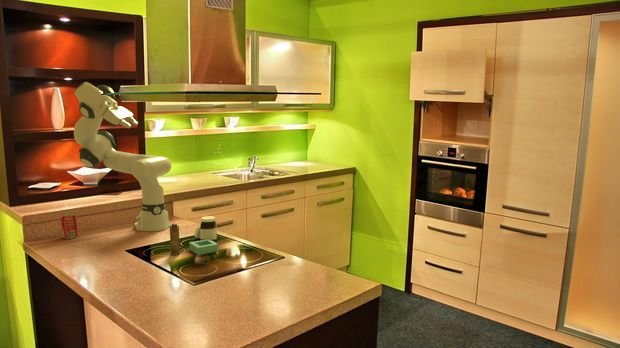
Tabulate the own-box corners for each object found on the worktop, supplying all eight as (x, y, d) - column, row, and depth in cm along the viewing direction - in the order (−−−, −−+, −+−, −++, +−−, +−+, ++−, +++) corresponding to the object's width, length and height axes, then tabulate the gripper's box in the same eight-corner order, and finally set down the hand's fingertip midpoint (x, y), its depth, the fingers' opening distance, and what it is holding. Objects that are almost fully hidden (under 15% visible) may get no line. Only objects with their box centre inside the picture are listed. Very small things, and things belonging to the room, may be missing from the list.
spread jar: (214, 243, 241) (213, 220, 239) (191, 243, 241) (190, 220, 240) (219, 236, 253) (218, 214, 251) (197, 236, 253) (196, 214, 252)
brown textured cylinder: (169, 253, 224) (168, 224, 222) (177, 252, 227) (176, 222, 225) (172, 256, 221) (171, 226, 219) (181, 254, 223) (180, 224, 221)
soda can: (70, 235, 254) (68, 212, 252) (81, 236, 251) (79, 213, 249) (59, 238, 247) (57, 215, 245) (70, 240, 245) (68, 216, 243)
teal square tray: (189, 249, 231) (189, 242, 230) (209, 246, 237) (209, 239, 236) (198, 255, 223) (197, 247, 222) (218, 251, 229) (218, 244, 228)
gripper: (113, 111, 239) (137, 128, 241) (95, 115, 219) (122, 134, 221) (120, 100, 238) (144, 117, 240) (103, 104, 218) (129, 123, 220)
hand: (133, 125), depth 230 cm, fingers open, 8 cm apart
